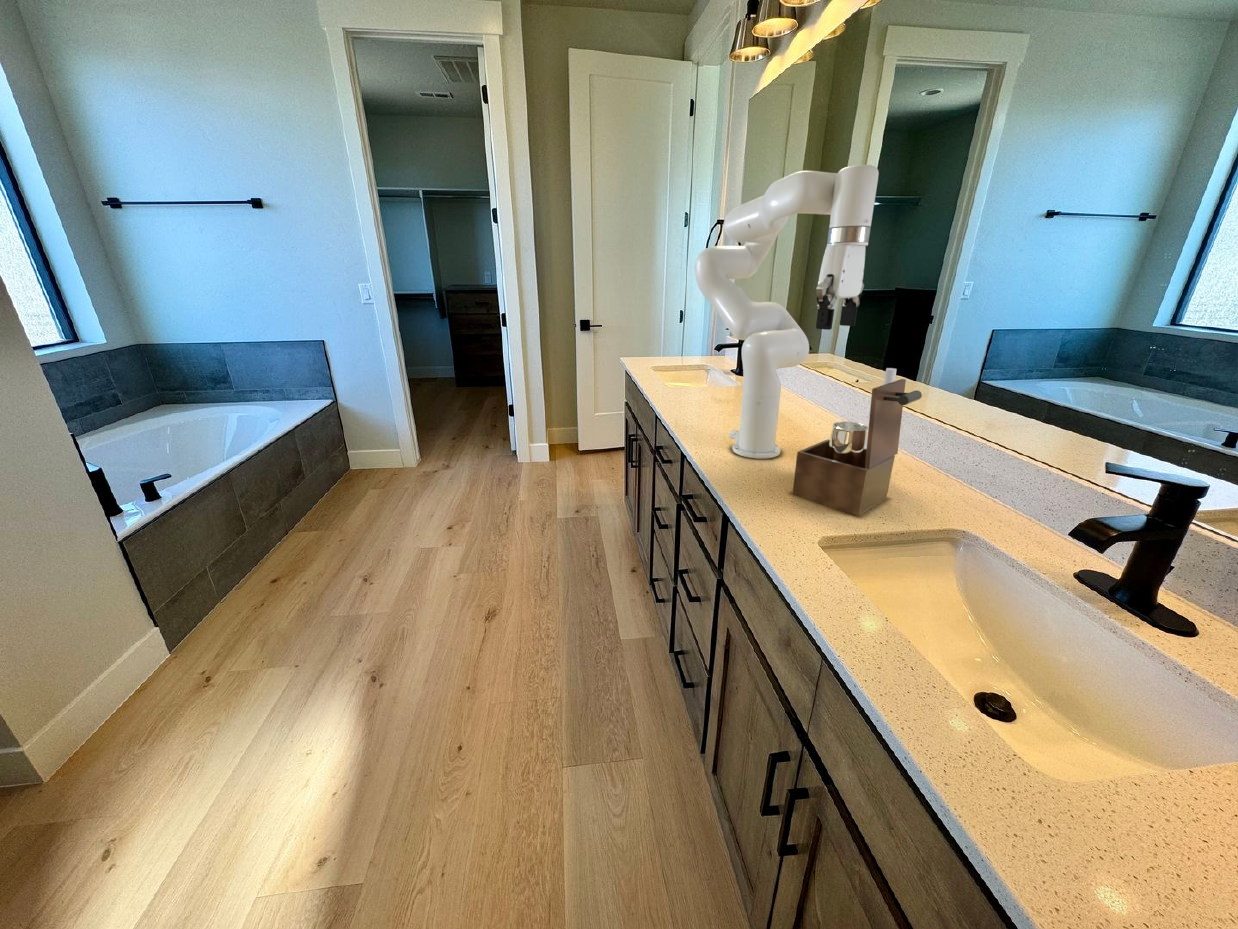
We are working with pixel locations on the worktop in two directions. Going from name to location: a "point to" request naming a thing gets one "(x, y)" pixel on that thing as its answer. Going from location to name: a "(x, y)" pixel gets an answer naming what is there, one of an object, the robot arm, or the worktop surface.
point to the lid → (886, 420)
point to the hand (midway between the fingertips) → (835, 327)
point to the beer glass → (848, 443)
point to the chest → (840, 480)
